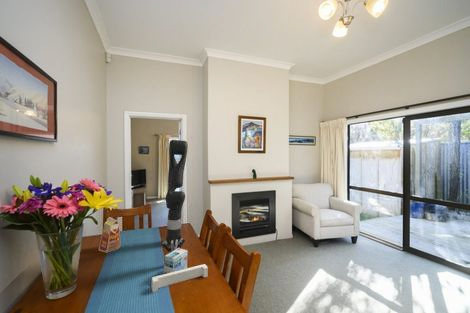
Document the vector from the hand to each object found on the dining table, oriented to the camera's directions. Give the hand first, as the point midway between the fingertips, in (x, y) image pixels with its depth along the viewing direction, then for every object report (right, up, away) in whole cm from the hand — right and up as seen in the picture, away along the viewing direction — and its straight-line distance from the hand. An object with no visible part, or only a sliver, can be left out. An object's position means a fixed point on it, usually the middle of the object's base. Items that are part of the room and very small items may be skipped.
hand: (172, 257), depth 110 cm
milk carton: (-45, -3, +16) cm, 48 cm away
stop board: (+8, -4, -15) cm, 17 cm away
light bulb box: (+4, -4, -9) cm, 11 cm away
